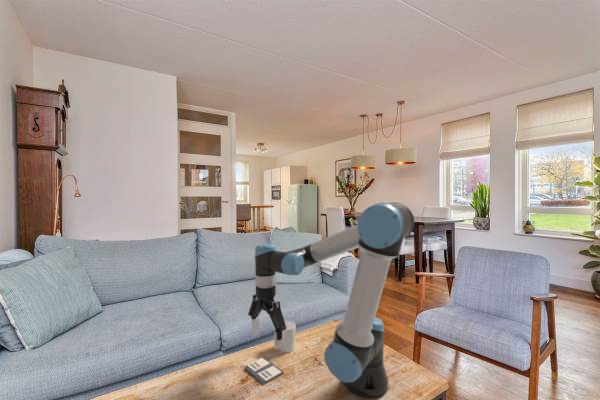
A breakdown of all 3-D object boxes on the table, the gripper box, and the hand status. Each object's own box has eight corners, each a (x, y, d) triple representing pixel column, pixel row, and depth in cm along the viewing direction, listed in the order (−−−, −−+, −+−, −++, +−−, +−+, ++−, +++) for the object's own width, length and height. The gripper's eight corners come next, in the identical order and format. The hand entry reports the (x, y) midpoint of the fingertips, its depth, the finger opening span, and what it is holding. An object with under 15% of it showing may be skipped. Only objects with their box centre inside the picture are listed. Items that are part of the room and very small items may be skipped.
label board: (283, 373, 104) (283, 370, 104) (263, 384, 98) (263, 381, 98) (264, 359, 113) (264, 356, 113) (244, 368, 107) (244, 365, 107)
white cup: (296, 343, 125) (296, 321, 124) (294, 354, 117) (294, 330, 116) (278, 342, 125) (278, 320, 125) (275, 352, 117) (275, 328, 117)
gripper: (295, 290, 101) (296, 349, 102) (254, 276, 119) (255, 327, 120) (279, 295, 96) (280, 358, 96) (239, 280, 114) (239, 333, 114)
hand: (266, 341), depth 108 cm, fingers open, 13 cm apart
